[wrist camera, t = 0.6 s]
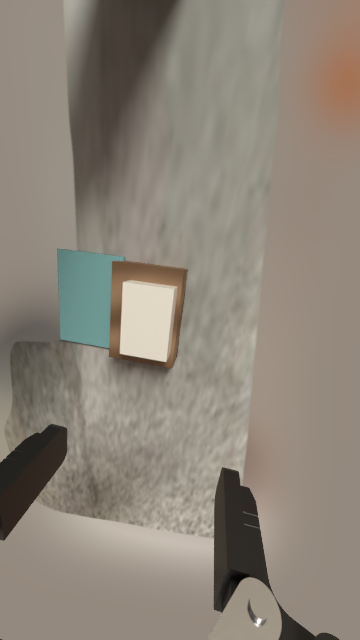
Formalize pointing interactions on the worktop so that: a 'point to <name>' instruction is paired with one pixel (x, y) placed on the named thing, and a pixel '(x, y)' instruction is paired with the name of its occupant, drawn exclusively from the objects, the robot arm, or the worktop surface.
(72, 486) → the worktop surface
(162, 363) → the board
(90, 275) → the mat
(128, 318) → the tile
